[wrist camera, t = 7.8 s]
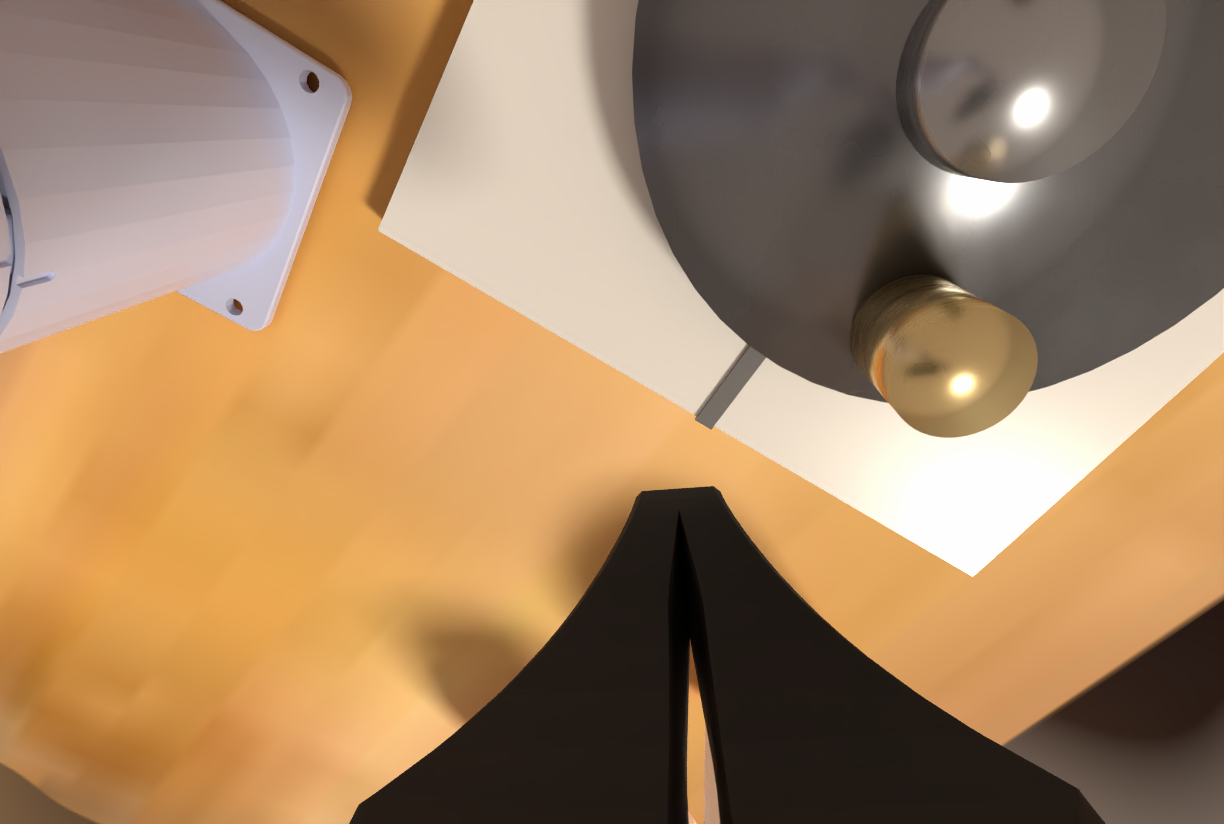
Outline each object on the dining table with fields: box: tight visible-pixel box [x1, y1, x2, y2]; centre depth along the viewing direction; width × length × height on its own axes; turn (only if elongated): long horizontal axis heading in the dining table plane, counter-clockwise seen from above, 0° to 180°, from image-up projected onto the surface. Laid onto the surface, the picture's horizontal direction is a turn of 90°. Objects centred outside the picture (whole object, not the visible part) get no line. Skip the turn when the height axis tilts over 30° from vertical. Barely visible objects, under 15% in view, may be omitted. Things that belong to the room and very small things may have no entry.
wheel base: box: [378, 0, 1224, 577], centre depth 15 cm, size 22×22×1 cm
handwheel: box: [632, 0, 1224, 438], centre depth 13 cm, size 16×16×4 cm
